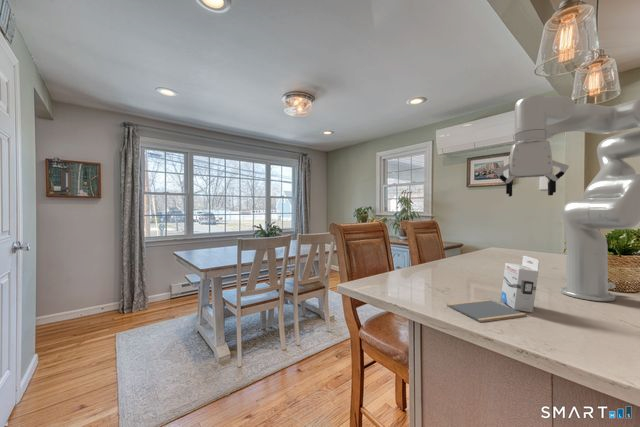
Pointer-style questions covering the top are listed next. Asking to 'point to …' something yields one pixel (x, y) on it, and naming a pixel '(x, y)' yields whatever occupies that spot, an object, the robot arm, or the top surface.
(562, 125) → the robot arm
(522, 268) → the ink box
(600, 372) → the top surface
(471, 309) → the mat
